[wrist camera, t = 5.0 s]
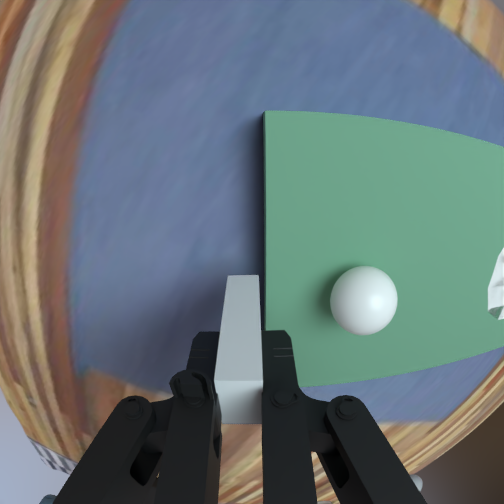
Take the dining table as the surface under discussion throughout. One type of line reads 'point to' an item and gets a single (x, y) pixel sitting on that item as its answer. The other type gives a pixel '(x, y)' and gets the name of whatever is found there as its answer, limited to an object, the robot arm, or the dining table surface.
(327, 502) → the vase
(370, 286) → the ball
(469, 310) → the putting mat
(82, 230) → the dining table surface
